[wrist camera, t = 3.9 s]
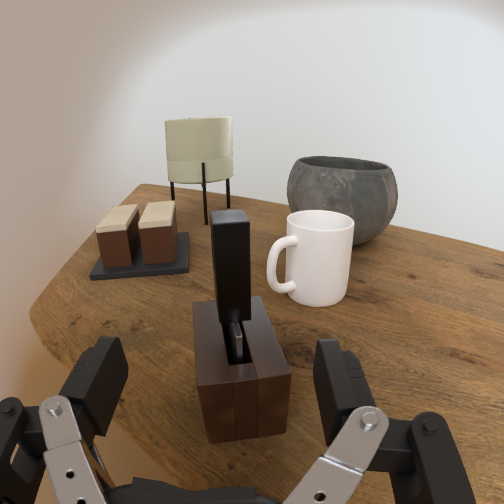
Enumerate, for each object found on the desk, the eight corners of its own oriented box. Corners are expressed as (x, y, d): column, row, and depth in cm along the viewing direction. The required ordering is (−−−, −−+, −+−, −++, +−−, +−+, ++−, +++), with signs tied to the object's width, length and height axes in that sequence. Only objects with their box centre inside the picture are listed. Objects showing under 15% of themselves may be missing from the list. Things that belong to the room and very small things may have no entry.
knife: (230, 421, 23) (214, 233, 17) (221, 373, 29) (208, 205, 22) (256, 418, 24) (255, 230, 17) (244, 370, 29) (239, 202, 23)
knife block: (209, 443, 21) (196, 385, 18) (200, 361, 30) (192, 302, 27) (285, 432, 22) (291, 373, 19) (260, 354, 31) (260, 295, 28)
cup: (358, 295, 41) (368, 222, 37) (287, 327, 35) (291, 242, 31) (317, 272, 48) (322, 206, 43) (249, 295, 42) (247, 221, 38)
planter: (187, 204, 85) (182, 120, 76) (242, 207, 81) (240, 116, 72) (157, 221, 72) (149, 122, 63) (219, 226, 68) (215, 116, 59)
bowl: (266, 232, 64) (265, 156, 58) (342, 218, 72) (346, 154, 66) (331, 273, 47) (339, 173, 41) (411, 248, 56) (421, 170, 50)
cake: (90, 280, 46) (79, 232, 42) (111, 243, 60) (105, 205, 57) (188, 272, 48) (183, 222, 45) (188, 236, 63) (185, 197, 59)
